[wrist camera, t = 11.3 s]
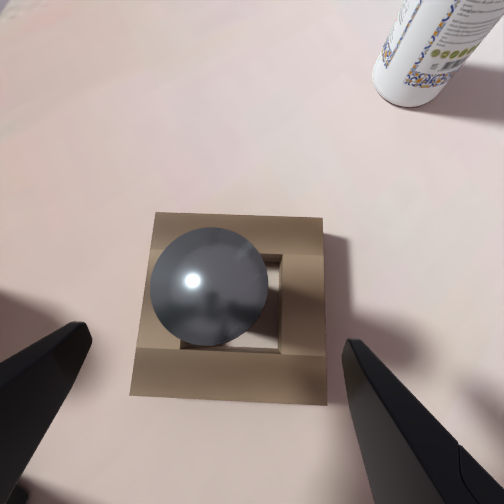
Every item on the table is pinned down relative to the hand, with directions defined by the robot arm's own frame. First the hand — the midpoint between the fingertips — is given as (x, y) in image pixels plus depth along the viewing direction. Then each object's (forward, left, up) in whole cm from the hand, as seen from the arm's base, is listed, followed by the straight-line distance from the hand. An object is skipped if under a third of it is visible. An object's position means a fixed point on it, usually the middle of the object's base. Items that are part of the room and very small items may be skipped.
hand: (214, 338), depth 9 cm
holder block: (+2, 0, -12) cm, 12 cm away
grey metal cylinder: (+2, 0, -12) cm, 12 cm away
